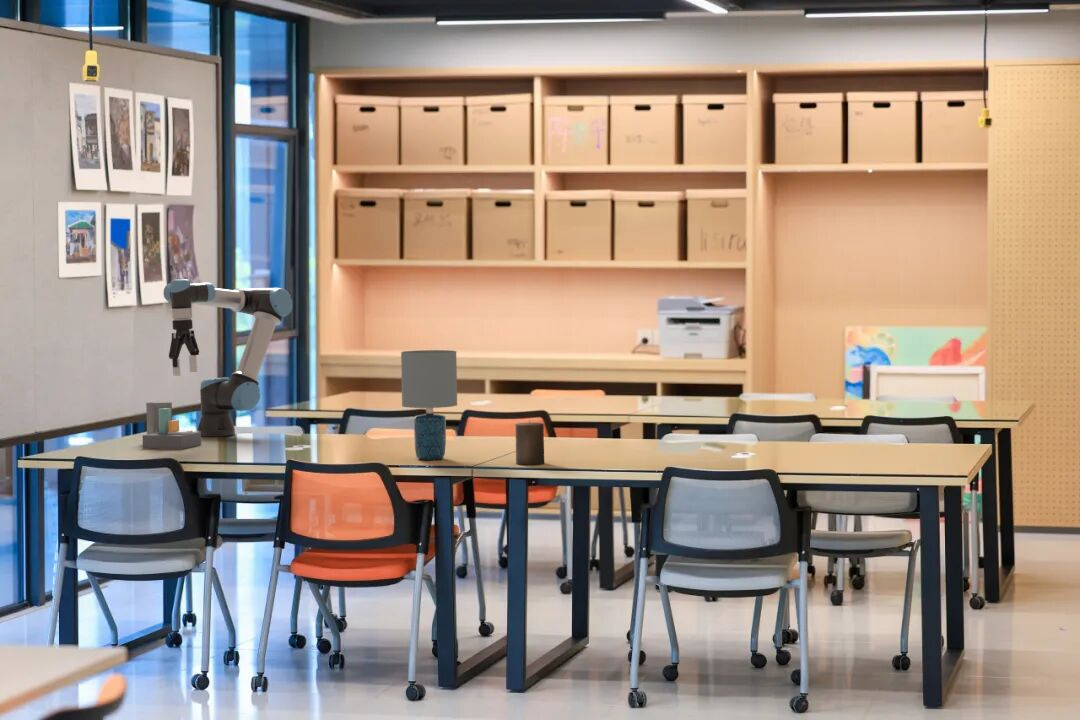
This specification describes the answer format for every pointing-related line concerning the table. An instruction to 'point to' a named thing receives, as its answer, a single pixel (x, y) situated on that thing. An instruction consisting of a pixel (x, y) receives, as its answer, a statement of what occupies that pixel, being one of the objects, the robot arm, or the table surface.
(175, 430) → the shutter
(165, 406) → the skincare box
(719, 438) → the table surface
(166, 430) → the plug peg
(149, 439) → the socket
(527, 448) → the pillar candle
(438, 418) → the lamp
